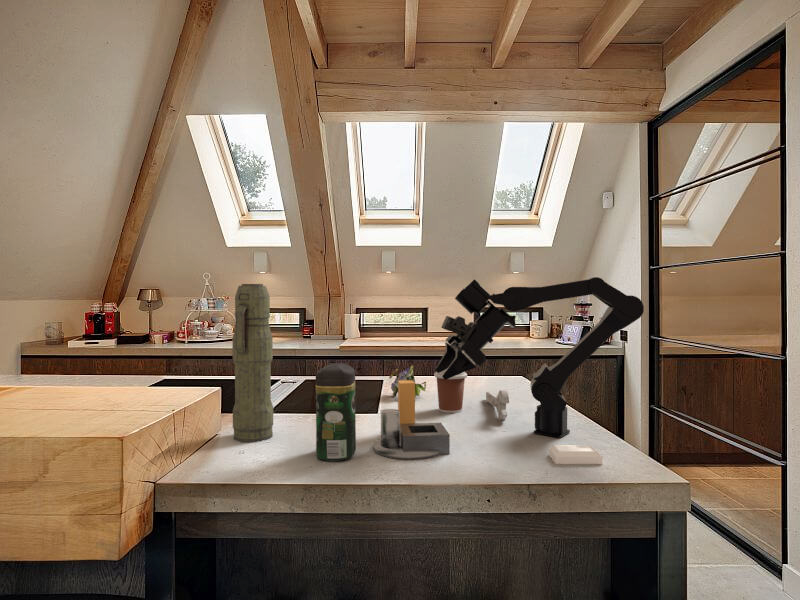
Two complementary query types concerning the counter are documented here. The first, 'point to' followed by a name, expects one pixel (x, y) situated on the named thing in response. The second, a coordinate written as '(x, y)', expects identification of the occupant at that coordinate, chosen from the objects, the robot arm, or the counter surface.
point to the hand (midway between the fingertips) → (439, 374)
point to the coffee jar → (335, 412)
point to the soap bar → (574, 454)
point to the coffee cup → (450, 392)
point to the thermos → (252, 364)
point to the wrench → (499, 402)
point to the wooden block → (406, 401)
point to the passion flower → (405, 375)
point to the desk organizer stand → (410, 438)
